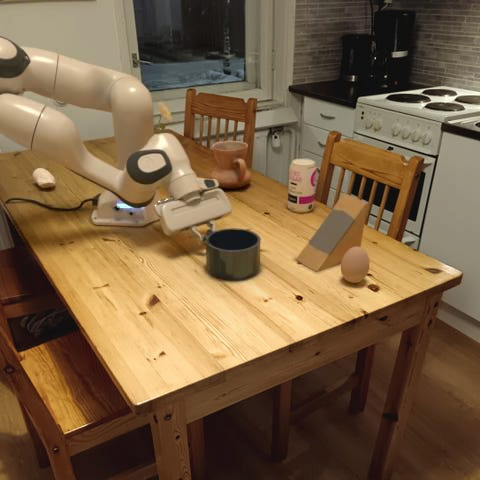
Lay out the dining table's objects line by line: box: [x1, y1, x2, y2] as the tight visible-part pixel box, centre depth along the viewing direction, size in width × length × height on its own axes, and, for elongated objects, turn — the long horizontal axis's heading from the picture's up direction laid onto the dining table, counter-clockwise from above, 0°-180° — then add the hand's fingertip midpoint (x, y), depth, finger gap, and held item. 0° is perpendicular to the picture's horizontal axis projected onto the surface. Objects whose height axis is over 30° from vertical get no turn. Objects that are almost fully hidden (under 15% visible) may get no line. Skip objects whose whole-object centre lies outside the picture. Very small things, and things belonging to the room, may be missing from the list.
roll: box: [32, 167, 56, 189], centre depth 176 cm, size 6×12×6 cm, turn 32°
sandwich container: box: [295, 192, 368, 272], centre depth 128 cm, size 9×15×15 cm, turn 124°
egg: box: [340, 246, 370, 284], centre depth 119 cm, size 7×7×9 cm
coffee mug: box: [205, 227, 262, 282], centre depth 126 cm, size 18×13×8 cm
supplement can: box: [287, 158, 318, 214], centre depth 157 cm, size 8×8×15 cm
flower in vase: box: [154, 101, 173, 136], centre depth 185 cm, size 13×11×25 cm
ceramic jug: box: [209, 140, 252, 190], centre depth 175 cm, size 18×14×14 cm
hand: (208, 240), depth 132 cm, fingers closed
